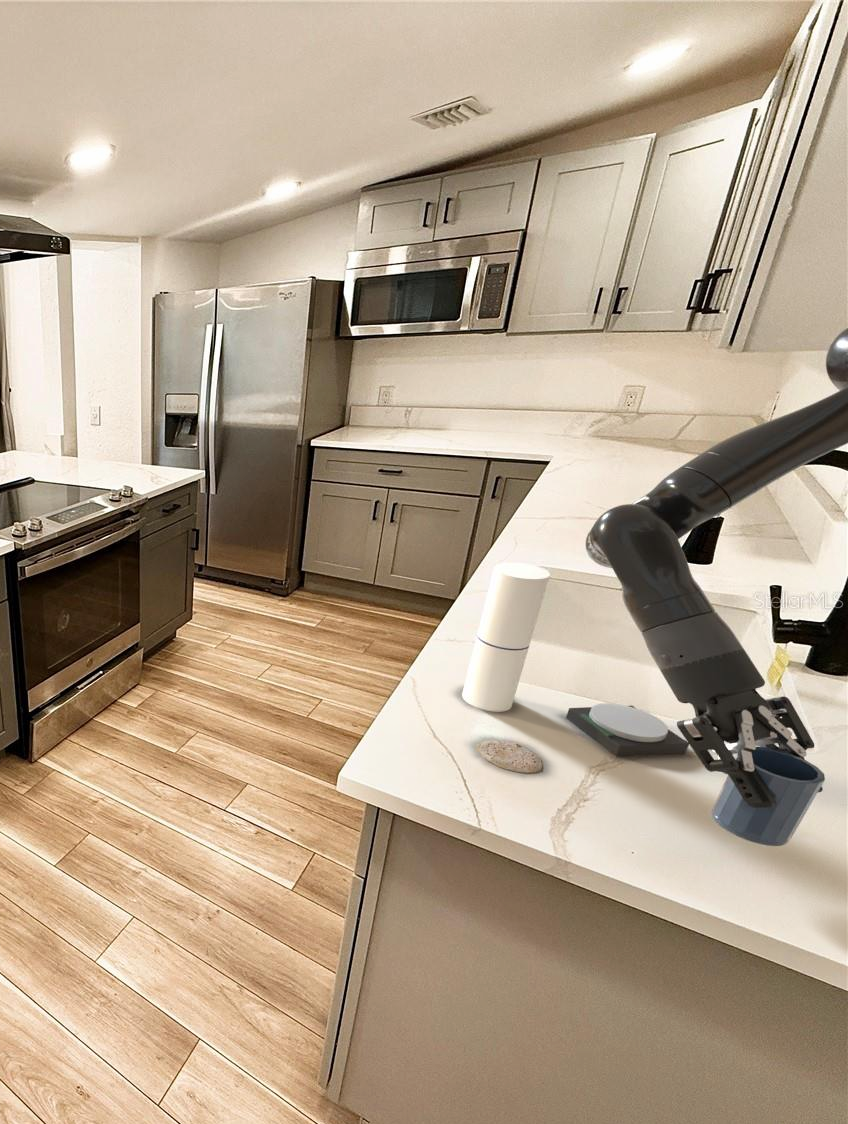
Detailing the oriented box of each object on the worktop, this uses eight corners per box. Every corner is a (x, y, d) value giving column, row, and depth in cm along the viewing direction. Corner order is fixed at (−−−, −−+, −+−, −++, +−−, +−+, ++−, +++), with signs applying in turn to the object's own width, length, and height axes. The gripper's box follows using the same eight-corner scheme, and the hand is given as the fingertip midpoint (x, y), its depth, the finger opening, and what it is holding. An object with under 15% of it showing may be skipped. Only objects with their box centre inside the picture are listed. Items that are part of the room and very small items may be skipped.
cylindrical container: (455, 703, 107) (488, 571, 97) (469, 687, 111) (501, 559, 101) (503, 719, 102) (543, 582, 92) (516, 702, 106) (555, 569, 96)
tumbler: (749, 805, 74) (780, 745, 70) (806, 845, 68) (843, 782, 64) (695, 807, 74) (724, 747, 70) (748, 847, 68) (781, 784, 65)
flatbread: (539, 752, 94) (541, 747, 94) (543, 782, 88) (545, 776, 88) (476, 737, 98) (477, 732, 98) (476, 764, 93) (477, 759, 92)
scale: (626, 718, 101) (634, 700, 99) (683, 757, 91) (692, 737, 90) (564, 721, 101) (570, 702, 100) (614, 760, 92) (622, 740, 90)
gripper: (687, 659, 68) (781, 813, 63) (781, 637, 71) (879, 782, 65) (621, 676, 75) (700, 816, 70) (709, 655, 78) (792, 789, 72)
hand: (787, 799), depth 67 cm, fingers closed on tumbler, 6 cm apart
